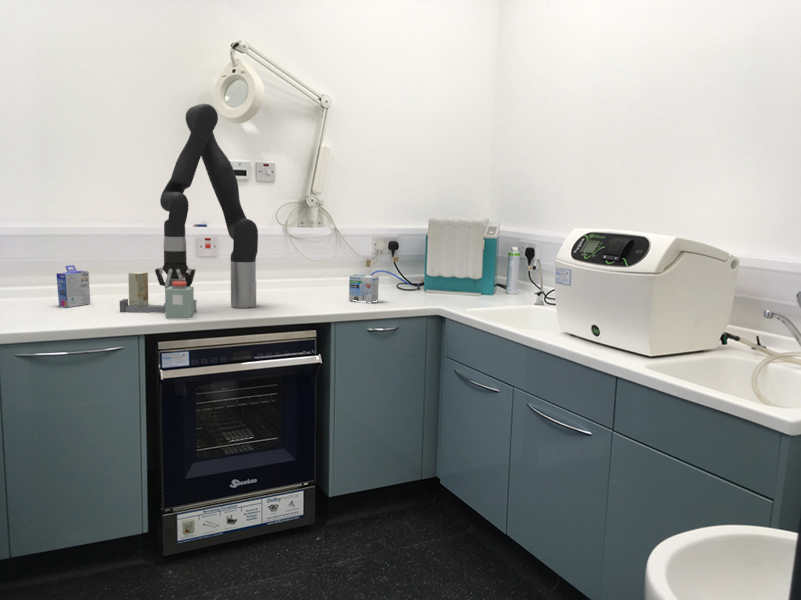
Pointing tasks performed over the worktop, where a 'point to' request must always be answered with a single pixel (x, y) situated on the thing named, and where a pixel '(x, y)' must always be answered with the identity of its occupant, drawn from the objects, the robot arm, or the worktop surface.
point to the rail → (143, 307)
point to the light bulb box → (363, 288)
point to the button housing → (179, 302)
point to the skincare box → (138, 288)
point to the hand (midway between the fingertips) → (176, 297)
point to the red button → (179, 284)
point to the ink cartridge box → (73, 287)
